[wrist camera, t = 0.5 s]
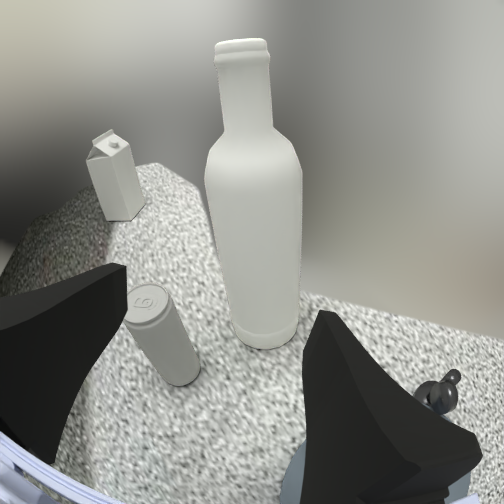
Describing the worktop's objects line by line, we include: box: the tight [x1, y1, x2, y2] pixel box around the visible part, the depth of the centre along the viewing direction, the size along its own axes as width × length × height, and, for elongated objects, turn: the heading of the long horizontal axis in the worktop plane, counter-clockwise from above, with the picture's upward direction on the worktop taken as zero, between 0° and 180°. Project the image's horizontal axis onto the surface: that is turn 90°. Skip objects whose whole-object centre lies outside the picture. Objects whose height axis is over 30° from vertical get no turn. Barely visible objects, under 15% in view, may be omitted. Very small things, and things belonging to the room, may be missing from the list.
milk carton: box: [86, 129, 145, 221], centre depth 54 cm, size 7×7×19 cm
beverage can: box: [123, 282, 200, 386], centre depth 26 cm, size 5×5×12 cm
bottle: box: [204, 38, 302, 350], centre depth 25 cm, size 8×8×30 cm
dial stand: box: [413, 369, 461, 415], centre depth 21 cm, size 5×4×7 cm
